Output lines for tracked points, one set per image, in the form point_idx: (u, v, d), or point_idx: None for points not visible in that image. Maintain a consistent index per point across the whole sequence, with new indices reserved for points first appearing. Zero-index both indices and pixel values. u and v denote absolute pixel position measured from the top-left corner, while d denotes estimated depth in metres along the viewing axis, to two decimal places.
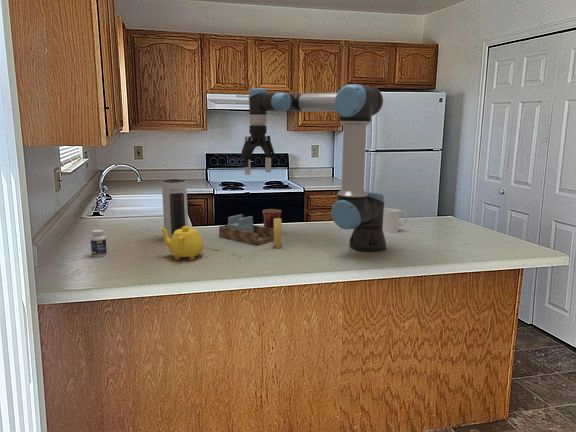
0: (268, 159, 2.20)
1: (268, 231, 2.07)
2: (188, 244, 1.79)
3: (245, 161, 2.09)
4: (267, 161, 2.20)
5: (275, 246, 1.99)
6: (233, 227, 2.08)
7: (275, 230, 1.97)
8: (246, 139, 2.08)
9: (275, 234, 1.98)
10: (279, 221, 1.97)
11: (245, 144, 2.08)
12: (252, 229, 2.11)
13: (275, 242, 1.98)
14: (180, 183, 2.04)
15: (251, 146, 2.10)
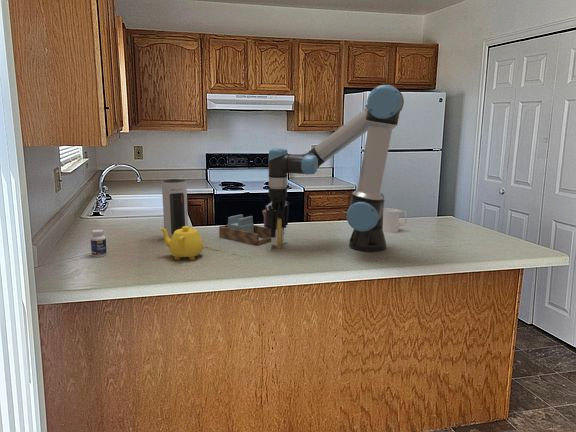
0: None
1: (268, 231, 2.07)
2: (188, 244, 1.79)
3: (272, 231, 1.96)
4: None
5: (275, 246, 1.99)
6: (233, 227, 2.08)
7: None
8: (266, 209, 1.92)
9: None
10: (279, 221, 1.97)
11: (267, 214, 1.93)
12: (252, 229, 2.11)
13: None
14: (180, 183, 2.04)
15: (273, 213, 1.95)
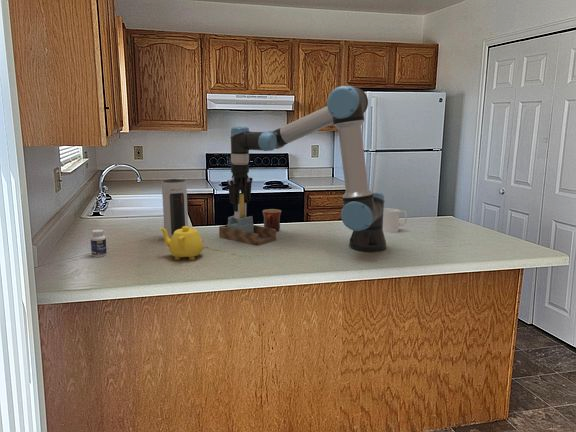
0: None
1: (268, 231, 2.07)
2: (188, 244, 1.79)
3: (235, 205, 2.06)
4: None
5: None
6: (233, 227, 2.08)
7: None
8: (229, 183, 2.02)
9: None
10: (241, 196, 2.06)
11: (230, 188, 2.03)
12: (252, 229, 2.11)
13: None
14: (180, 183, 2.04)
15: (236, 188, 2.05)
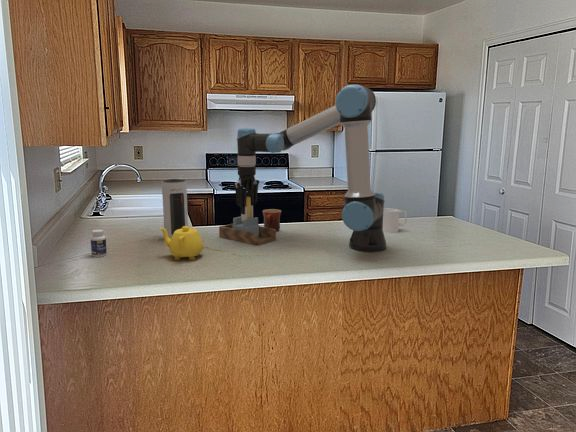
0: None
1: (268, 231, 2.07)
2: (188, 244, 1.79)
3: (242, 208, 2.04)
4: None
5: None
6: (238, 228, 2.06)
7: None
8: (235, 186, 2.00)
9: None
10: (248, 199, 2.04)
11: (236, 191, 2.01)
12: (257, 230, 2.09)
13: None
14: (180, 183, 2.04)
15: (243, 191, 2.03)
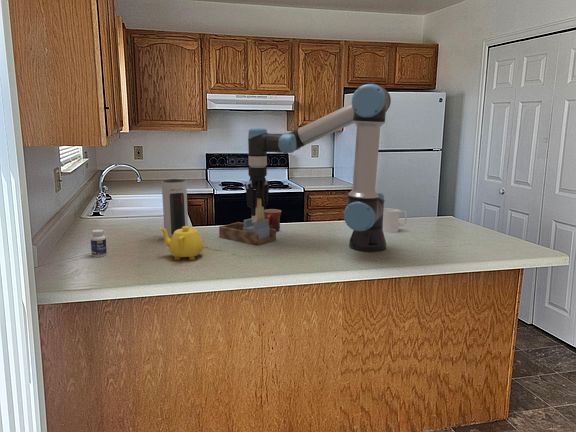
0: None
1: None
2: (188, 244, 1.79)
3: (252, 209, 2.00)
4: None
5: None
6: (249, 230, 2.02)
7: None
8: (246, 187, 1.96)
9: None
10: (259, 201, 2.01)
11: (247, 192, 1.97)
12: (268, 232, 2.05)
13: None
14: (180, 183, 2.04)
15: (253, 192, 1.99)
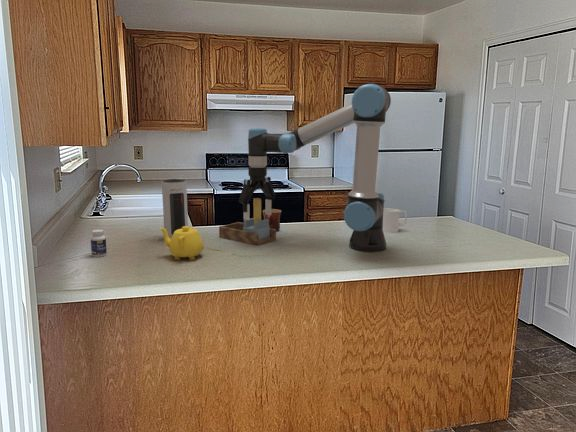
0: (268, 201, 2.07)
1: None
2: (188, 244, 1.79)
3: (244, 206, 1.96)
4: (267, 203, 2.07)
5: None
6: (249, 230, 2.02)
7: (255, 209, 2.01)
8: (245, 182, 1.95)
9: (255, 214, 2.02)
10: (259, 201, 2.00)
11: (244, 188, 1.95)
12: (268, 232, 2.05)
13: (255, 221, 2.02)
14: (180, 183, 2.04)
15: (250, 189, 1.97)
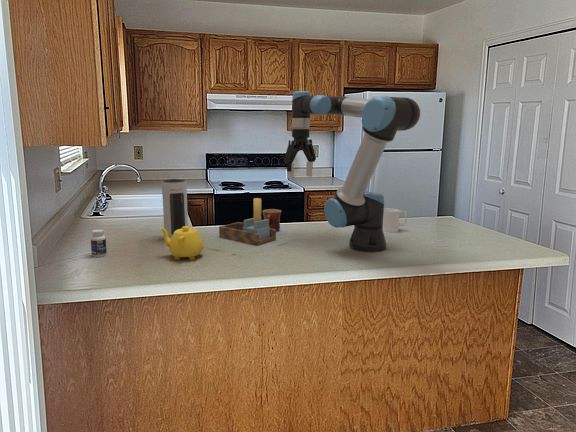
0: (309, 163, 2.16)
1: None
2: (188, 244, 1.79)
3: (288, 165, 2.05)
4: (308, 165, 2.17)
5: None
6: (249, 230, 2.02)
7: (255, 209, 2.01)
8: (289, 143, 2.05)
9: (255, 214, 2.02)
10: (259, 201, 2.00)
11: (288, 148, 2.04)
12: (268, 232, 2.05)
13: (255, 221, 2.02)
14: (180, 183, 2.04)
15: (294, 150, 2.07)
